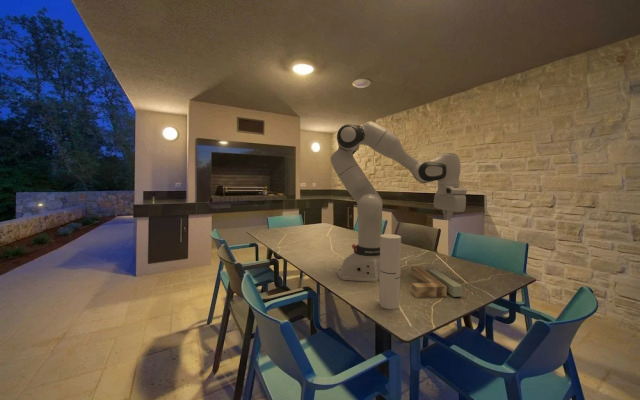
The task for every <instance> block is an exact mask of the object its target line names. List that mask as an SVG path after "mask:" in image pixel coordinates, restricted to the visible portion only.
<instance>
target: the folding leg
mask: <svg viewBox="0 0 640 400" xmlns="http://www.w3.org/2000/svg"><path fill="white" fill-rule="evenodd" d="M425 271H426V272H428V273H429V274H430V275H432V276H433V277H434V278H436V279H437V280H439V281H440V282H441V283H443V284H444V285H445V286H446V287H447V294H449V296H451V297H454V298H457V297H462V296H463V286H462V285H461V284H460V283H458V282H457V281H455V280H453V279H452V278H450V277H449V276H447V275H445V274H444V273H442V272H440V271H439V270H437V269H436V268H435V266H434V265H431V264H430V265H429V264H427V265H425Z"/></svg>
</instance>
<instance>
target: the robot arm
mask: <svg viewBox="0 0 640 400" xmlns="http://www.w3.org/2000/svg"><path fill="white" fill-rule="evenodd" d="M336 134H337V135H336V140H337V145H338V146H337V147H338V148H337V149H336V150H335V151H334V152H333V153H332V154H331V156H330V163H331V165H332V168H333V170H334V172H335V173H336V175H337V177H338V178H339V181H340V182H341V183H342V185H343V186H344V188H345V189H346V191H347V192H348V193H349V195H350V196H351V197H352V198H353V200H354V201H355V203H356V206H357V207H356V208H357V209H356V210H357V211H356V213H357V226H358V227H357V228H358V229H357V231H358V232H357V233H358V234H357V237H358V238H357V239H358V240H357V242H358V244H357V245H356V244H355V243H353V244H351V248H352V249H353V253H351V254H350V255H349V256H347V257H345V258H344V259H343V262H342V265H341V267H339V268H338V269H337V272H336V275H337V276H338V278H339V279H340V280H344V281H354V282H355V281H356V282H371V283H373V282H374V283H376V282H378V281H380V235H383V205H384V203H383V199H382V197H381V195H380V194H379V193H378V192H377V190H376V188H375V187H374V186H373V184H372V183H371V182H370V180H369V179H368V177H367V175H366V174H365V173H364V171H363V170H362V168H361V167H360V165H359V164H358V162H357V160H356V159H355V156H354V154H355V153H356V152H357V151H358V150H359V148H360V145H364V146H367V147H369V148H370V149H372V151H373V150H374V152H376V153H378V154H380V155H382V156H384V157H385V158H388V159H390V160H393V161H395V162H397V163H398V164H399V165H401V166H402V167H404V168H405V169H407V170H408V171H409V172H410V173H411V174H412V176H413V178H414V179H415V180H416V181H417V182H419V183H421V184H427V183H432V182H434V181H437V191H436V192H435V194H434V197H433V208H435V209H439V210H442V214H443V219H444V220H445V221H451V220H452V216H453V214H454V212H456V213H464V212H465V211H466V207H467V206H466V204H467V197H466V194H467V189H466V188H465V187H463V186H462V185H461V182H460V174H461V159H460V156H459V155H457V154H456V153H452V152H451V153H450V152H443V153H440V154H439V155H438V156H435V157H434V158H431V159H429V160H426V161H420V160H418V159H417V158H416V157H414V156H412V155H411V154H409V153H408V152H407V151H406V150H405V149H404V147H403V146H402V143H401V141H400V140H401V139H400V138H399V137H398V136H397V135H396V134H394V132H393V131H391V130H389V129H387V128H386V127H384V126H383V125H380V124H378V123H377V122H373V121H370V120H369V121H366V122H365V123H363V124H362V125H359V124H351V123H350V124H344V125H342V126H341V127H340V128H339V129H338V131H337V133H336Z"/></svg>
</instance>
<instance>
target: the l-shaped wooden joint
mask: <svg viewBox="0 0 640 400" xmlns="http://www.w3.org/2000/svg"><path fill="white" fill-rule="evenodd" d="M410 269H411V272H410V273H411V274H410V275H411V276H412V277H413V278H414V279H416V281H418V282H412V283H411V294H412V295H413V296H414V297H415V298H447V295H448V293H447V287H446V286H445V285H444V284H443V283H441V282H440V281H439V280H437V279H436V278H434V277H433V276H432V275H430V274H429V273H428V272H426V269H424V268H423V267H421V266H416V265H415V266H414V265H413V266H411V268H410Z"/></svg>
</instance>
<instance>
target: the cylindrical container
mask: <svg viewBox="0 0 640 400" xmlns="http://www.w3.org/2000/svg"><path fill="white" fill-rule="evenodd" d="M401 248H402V236H401V235H398V234H393V233H386V234H384V233H382V235H380V279H379V280H378V281H379V288H378V289H379V291H378V298H379V299H378V305H379V304H380V305H379V306H380V307H382V308H383V309H387V310H397V309H398V308H400V302H401V301H400V300H401V263H402V262H401V261H402V260H401V258H402V257H401V255H402V251H401V250H402V249H401Z"/></svg>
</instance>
